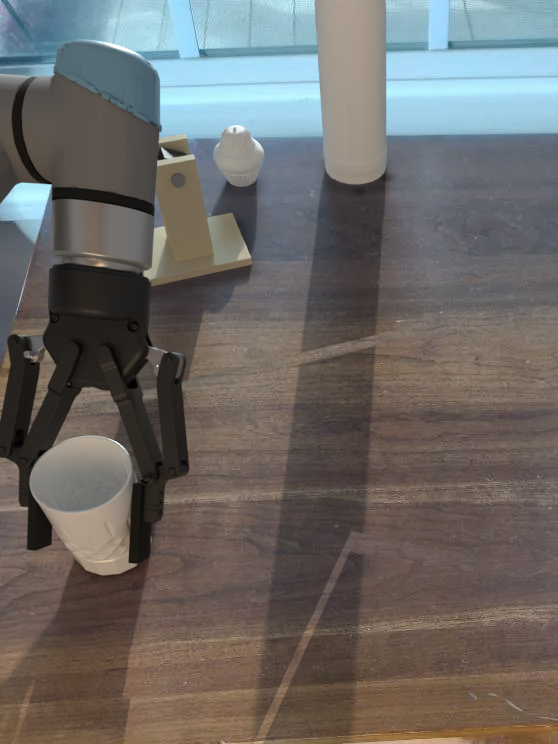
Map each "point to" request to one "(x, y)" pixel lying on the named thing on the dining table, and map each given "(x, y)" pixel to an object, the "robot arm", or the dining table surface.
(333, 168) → the bottle
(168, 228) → the bracket
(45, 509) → the white cup
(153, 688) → the dining table surface
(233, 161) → the muffin
